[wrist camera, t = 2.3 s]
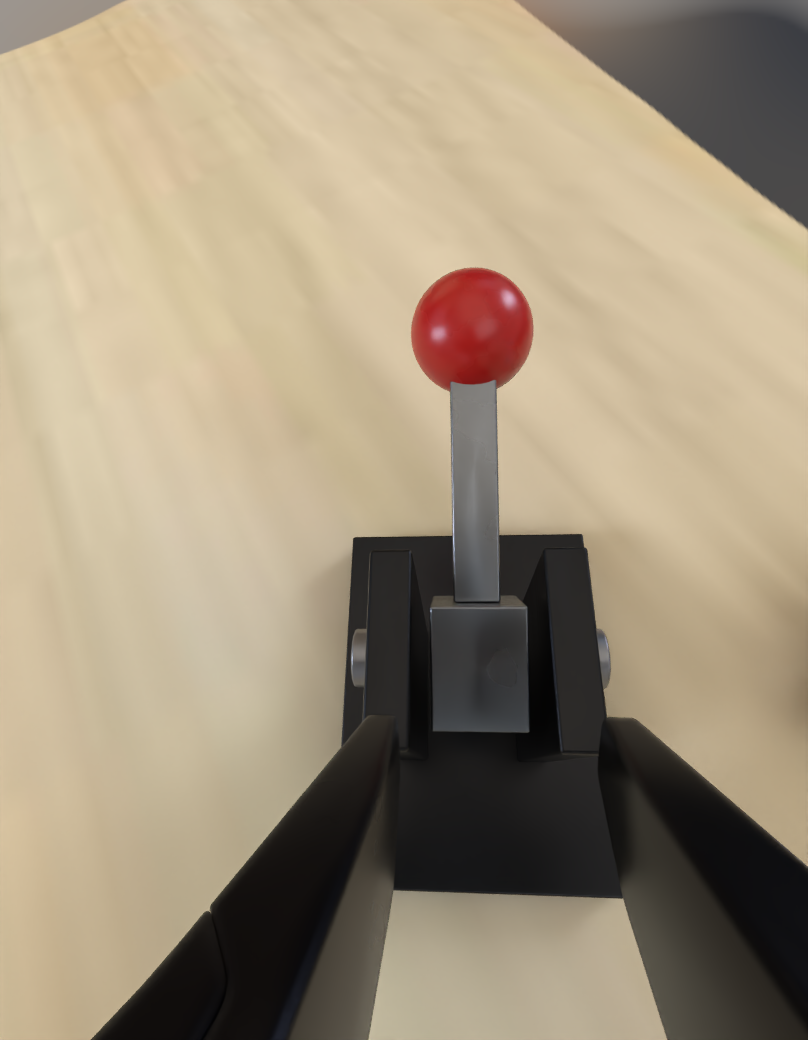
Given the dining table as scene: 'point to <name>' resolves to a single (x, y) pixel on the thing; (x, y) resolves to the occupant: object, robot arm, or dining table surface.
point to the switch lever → (475, 502)
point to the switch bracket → (488, 755)
